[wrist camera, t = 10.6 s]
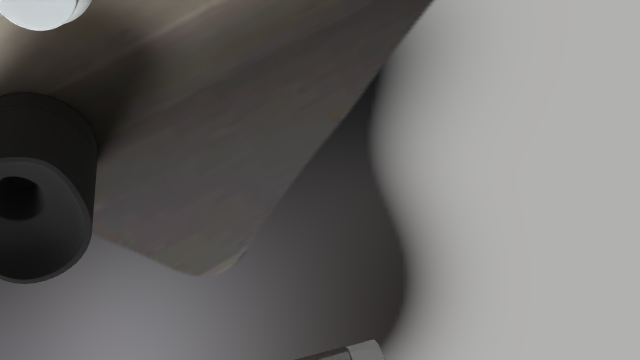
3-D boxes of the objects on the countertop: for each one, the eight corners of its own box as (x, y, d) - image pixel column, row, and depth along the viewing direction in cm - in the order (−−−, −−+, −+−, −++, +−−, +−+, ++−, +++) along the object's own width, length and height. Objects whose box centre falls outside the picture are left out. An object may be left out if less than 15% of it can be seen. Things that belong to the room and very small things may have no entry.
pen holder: (-1, 209, 44) (-34, 302, 36) (-66, 103, 39) (-123, 185, 31) (120, 178, 45) (114, 262, 37) (73, 70, 40) (53, 141, 32)
